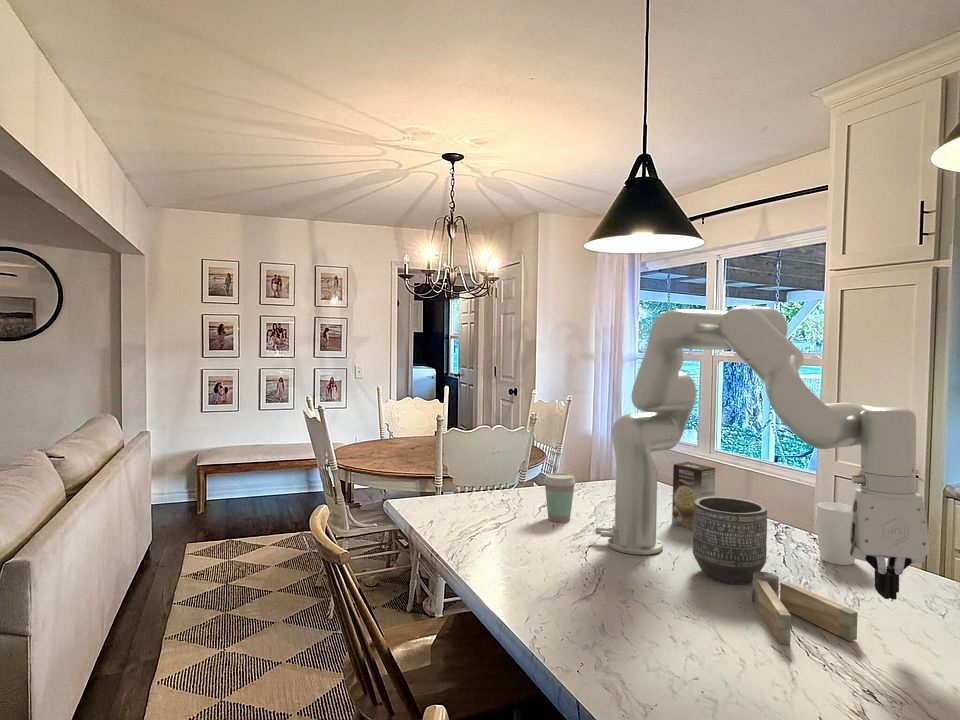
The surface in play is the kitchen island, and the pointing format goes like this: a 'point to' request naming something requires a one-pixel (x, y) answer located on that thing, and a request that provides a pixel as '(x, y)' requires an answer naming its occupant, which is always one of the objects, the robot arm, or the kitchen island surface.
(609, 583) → the kitchen island surface
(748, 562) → the planter
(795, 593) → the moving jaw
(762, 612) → the tongs base
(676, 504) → the coffee box
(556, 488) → the coffee cup
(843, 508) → the cup
